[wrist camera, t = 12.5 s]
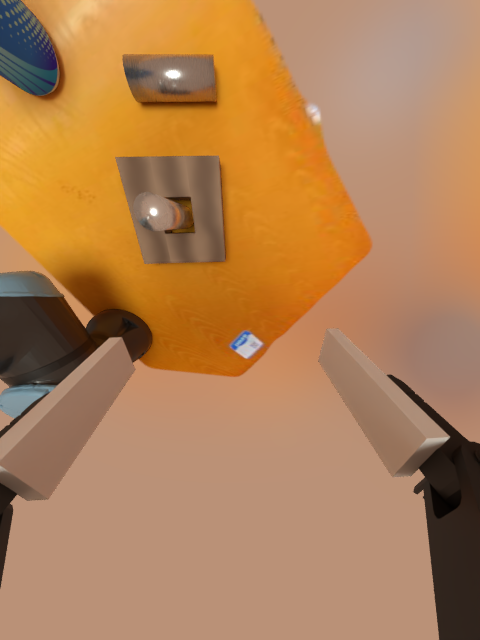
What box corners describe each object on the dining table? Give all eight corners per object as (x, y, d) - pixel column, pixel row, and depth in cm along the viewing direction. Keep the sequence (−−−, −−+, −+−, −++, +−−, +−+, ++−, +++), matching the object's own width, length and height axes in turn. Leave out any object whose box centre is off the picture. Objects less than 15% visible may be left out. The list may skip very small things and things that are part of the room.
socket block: (153, 259, 39) (144, 263, 35) (130, 166, 31) (115, 157, 27) (225, 257, 39) (225, 261, 35) (220, 164, 31) (218, 155, 27)
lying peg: (123, 73, 23) (122, 44, 23) (139, 110, 27) (138, 85, 27) (213, 73, 23) (212, 44, 23) (216, 109, 27) (215, 85, 27)
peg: (175, 228, 36) (139, 231, 22) (171, 205, 34) (128, 192, 20) (195, 228, 36) (171, 230, 22) (192, 204, 34) (163, 191, 20)
